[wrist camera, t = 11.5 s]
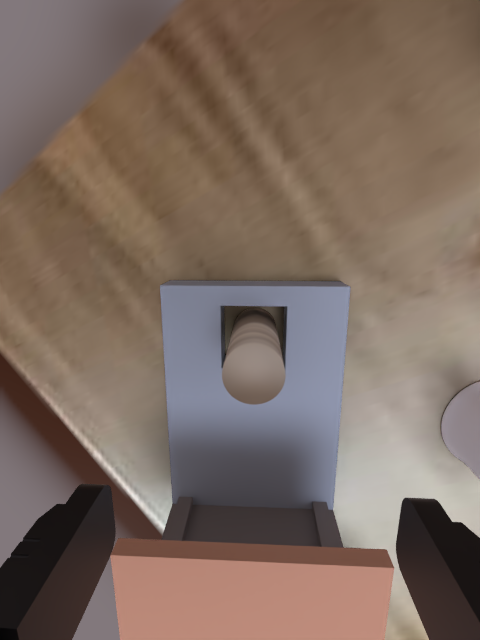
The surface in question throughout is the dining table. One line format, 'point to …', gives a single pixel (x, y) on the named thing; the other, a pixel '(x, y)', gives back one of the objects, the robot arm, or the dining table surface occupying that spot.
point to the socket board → (252, 485)
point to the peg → (254, 359)
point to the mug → (464, 427)
